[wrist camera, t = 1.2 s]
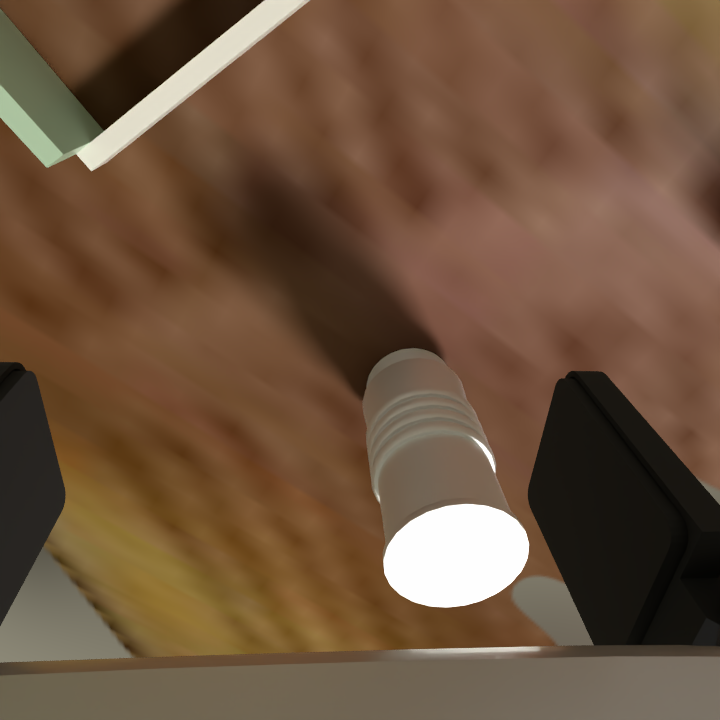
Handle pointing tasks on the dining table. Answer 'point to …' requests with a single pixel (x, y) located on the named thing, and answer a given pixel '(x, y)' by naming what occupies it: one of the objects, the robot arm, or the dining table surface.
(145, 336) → the dining table surface
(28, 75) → the finger lane
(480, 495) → the candle
